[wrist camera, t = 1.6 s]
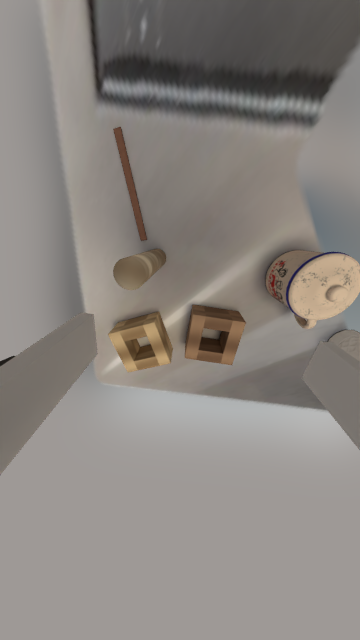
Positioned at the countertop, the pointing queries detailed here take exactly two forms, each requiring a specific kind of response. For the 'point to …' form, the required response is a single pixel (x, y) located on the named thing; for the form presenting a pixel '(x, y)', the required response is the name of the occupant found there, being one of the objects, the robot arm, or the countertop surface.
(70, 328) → the robot arm
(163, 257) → the beige wooden dowel
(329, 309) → the teacup with lid
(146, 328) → the light wooden square frame
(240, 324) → the bead dark
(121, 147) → the brown wooden stick
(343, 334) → the white cup
